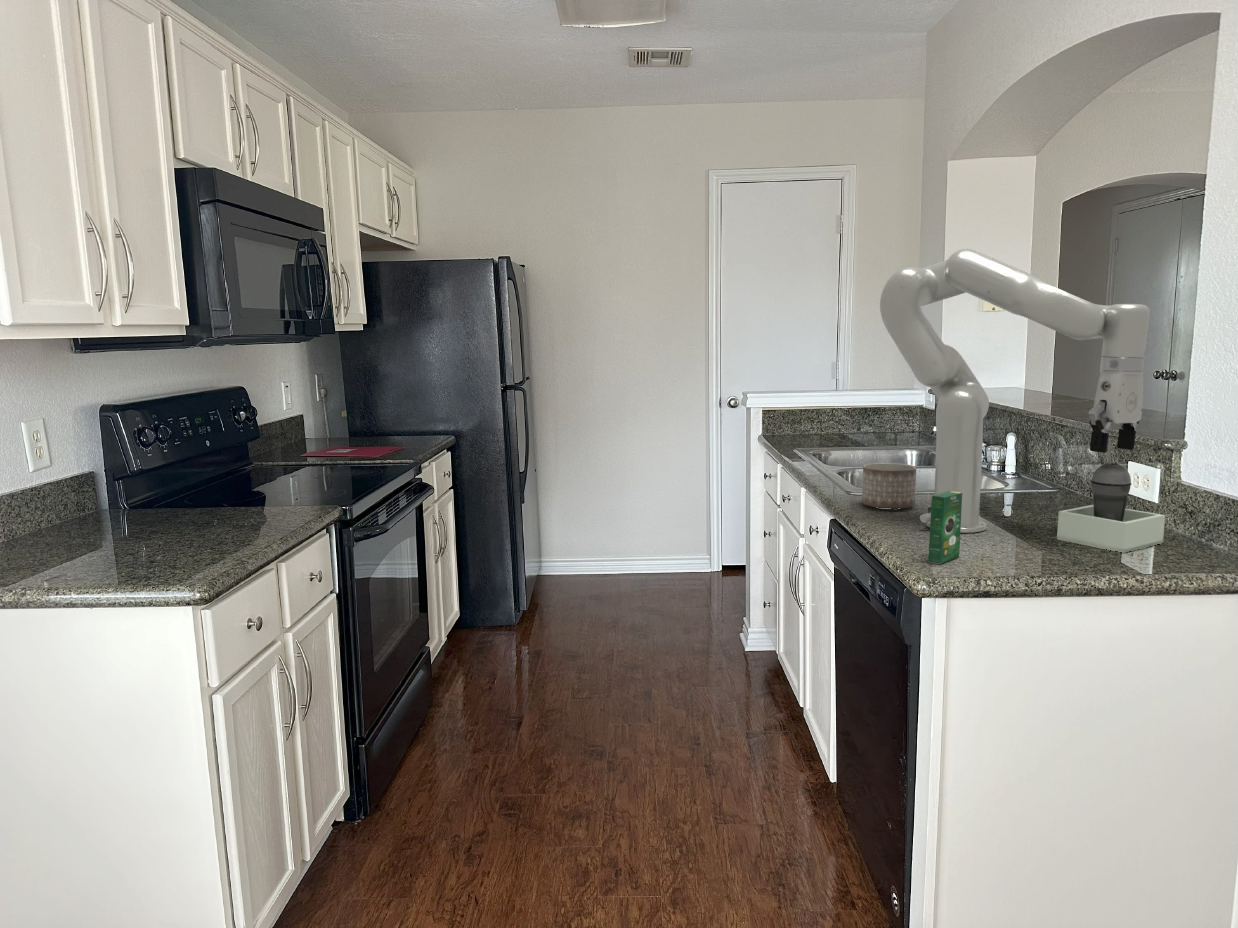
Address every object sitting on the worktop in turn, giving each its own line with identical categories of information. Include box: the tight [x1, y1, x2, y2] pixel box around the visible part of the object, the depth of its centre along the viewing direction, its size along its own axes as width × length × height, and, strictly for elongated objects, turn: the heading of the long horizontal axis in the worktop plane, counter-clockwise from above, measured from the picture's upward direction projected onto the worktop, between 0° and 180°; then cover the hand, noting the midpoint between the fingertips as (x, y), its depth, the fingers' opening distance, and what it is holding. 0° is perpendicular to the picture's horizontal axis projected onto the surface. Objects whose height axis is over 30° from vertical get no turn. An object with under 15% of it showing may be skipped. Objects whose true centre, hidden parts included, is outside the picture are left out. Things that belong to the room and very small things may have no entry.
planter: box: [861, 462, 917, 509], centre depth 215 cm, size 13×13×10 cm
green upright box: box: [927, 491, 962, 565], centre depth 164 cm, size 8×3×13 cm, turn 134°
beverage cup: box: [1090, 440, 1133, 522], centre depth 176 cm, size 7×7×20 cm
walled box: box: [1056, 504, 1166, 554], centre depth 177 cm, size 14×14×6 cm
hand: (1111, 450), depth 175 cm, fingers open, 9 cm apart
